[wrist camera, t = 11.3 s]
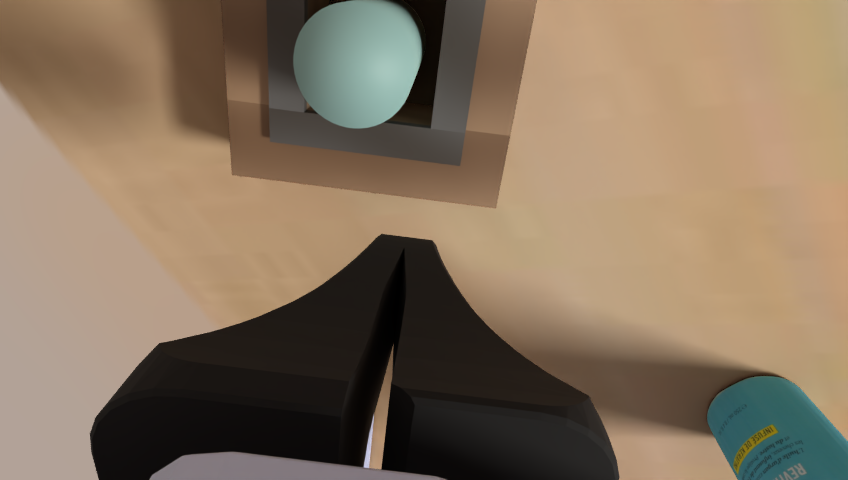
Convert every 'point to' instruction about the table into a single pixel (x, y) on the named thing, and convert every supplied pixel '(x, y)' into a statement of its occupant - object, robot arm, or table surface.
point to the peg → (359, 60)
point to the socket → (396, 137)
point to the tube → (776, 433)
